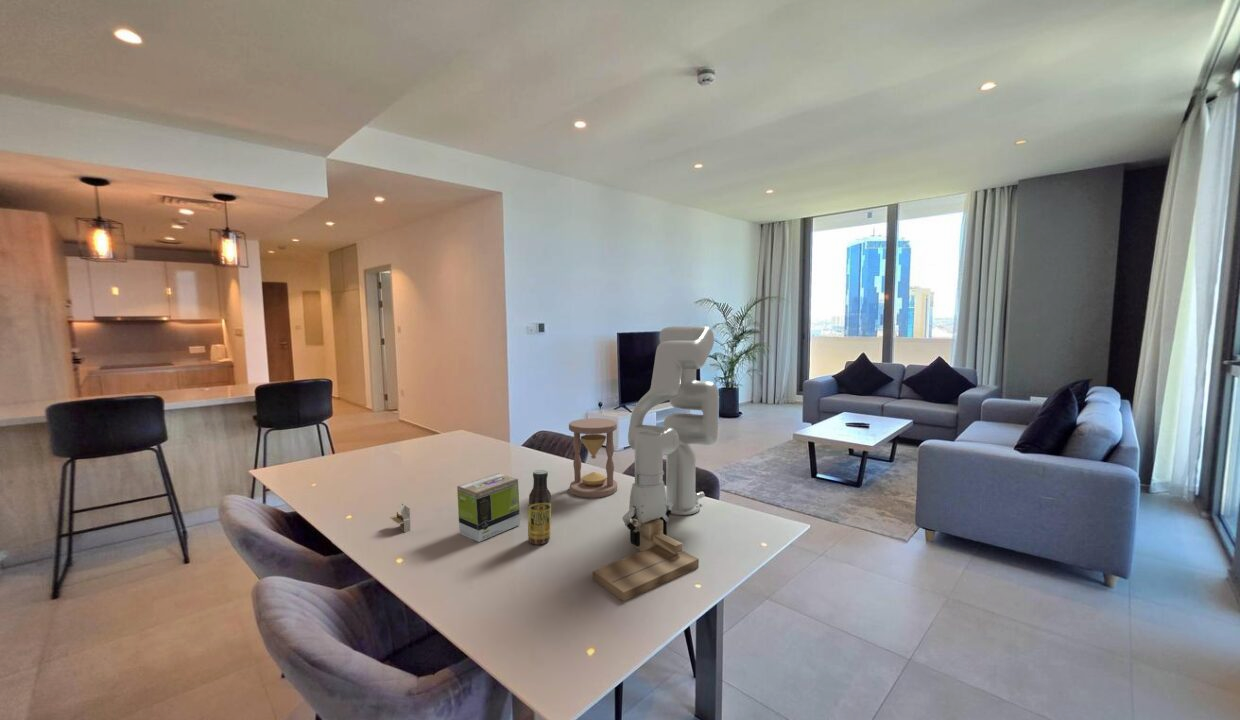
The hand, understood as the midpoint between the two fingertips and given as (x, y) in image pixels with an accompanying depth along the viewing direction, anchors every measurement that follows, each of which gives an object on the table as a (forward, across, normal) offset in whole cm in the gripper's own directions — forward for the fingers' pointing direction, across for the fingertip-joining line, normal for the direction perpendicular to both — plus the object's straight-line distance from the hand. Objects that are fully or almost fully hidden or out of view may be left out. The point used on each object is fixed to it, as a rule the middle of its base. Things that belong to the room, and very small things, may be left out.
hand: (648, 539), depth 130 cm
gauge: (+2, 0, +4) cm, 5 cm away
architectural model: (+3, +49, -56) cm, 74 cm away
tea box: (+3, +29, -39) cm, 48 cm away
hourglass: (+2, -15, -48) cm, 50 cm away
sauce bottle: (+3, +21, -23) cm, 31 cm away
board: (+2, +9, +9) cm, 13 cm away
